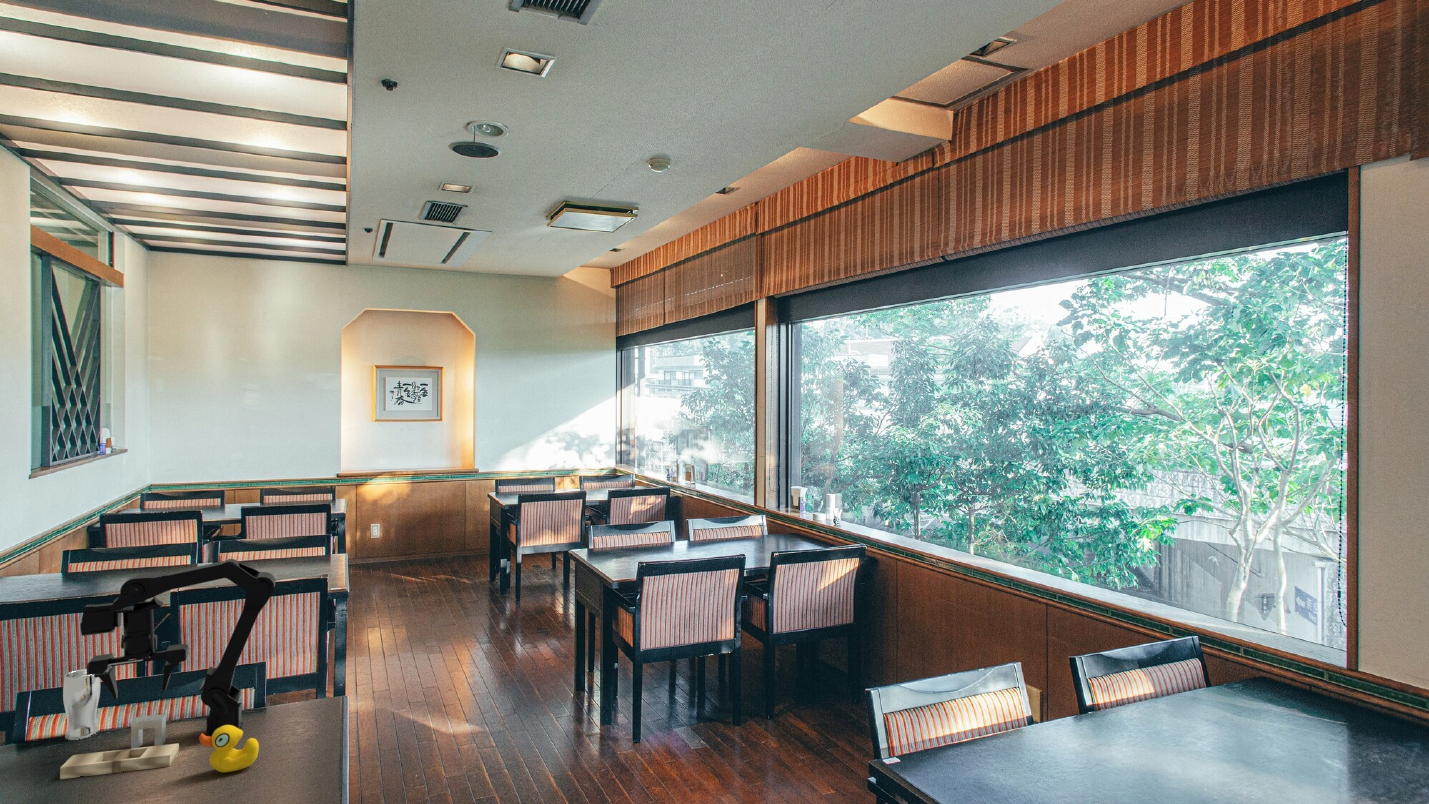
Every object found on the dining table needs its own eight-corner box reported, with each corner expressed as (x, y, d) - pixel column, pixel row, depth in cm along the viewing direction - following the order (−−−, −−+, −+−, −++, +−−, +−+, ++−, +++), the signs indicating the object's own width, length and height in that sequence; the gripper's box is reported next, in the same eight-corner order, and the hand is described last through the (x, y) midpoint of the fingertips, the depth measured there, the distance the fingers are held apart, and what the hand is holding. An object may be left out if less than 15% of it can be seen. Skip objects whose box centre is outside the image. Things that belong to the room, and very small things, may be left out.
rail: (178, 754, 178) (178, 743, 178) (170, 766, 172) (170, 755, 172) (72, 766, 171) (72, 755, 171) (60, 779, 165) (60, 767, 165)
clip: (165, 741, 184) (165, 714, 184) (161, 746, 181) (161, 718, 181) (135, 744, 182) (135, 717, 182) (131, 749, 179) (131, 721, 179)
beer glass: (107, 729, 189) (108, 668, 189) (81, 742, 183) (82, 679, 182) (81, 727, 190) (82, 667, 190) (54, 740, 183) (55, 677, 183)
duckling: (195, 780, 166) (196, 734, 166) (202, 769, 171) (202, 724, 171) (256, 772, 170) (256, 727, 170) (260, 761, 175) (261, 717, 175)
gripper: (191, 614, 192) (192, 676, 193) (97, 625, 184) (98, 690, 184) (184, 626, 183) (186, 691, 183) (85, 639, 174) (86, 707, 174)
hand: (140, 694), depth 181 cm, fingers open, 9 cm apart
